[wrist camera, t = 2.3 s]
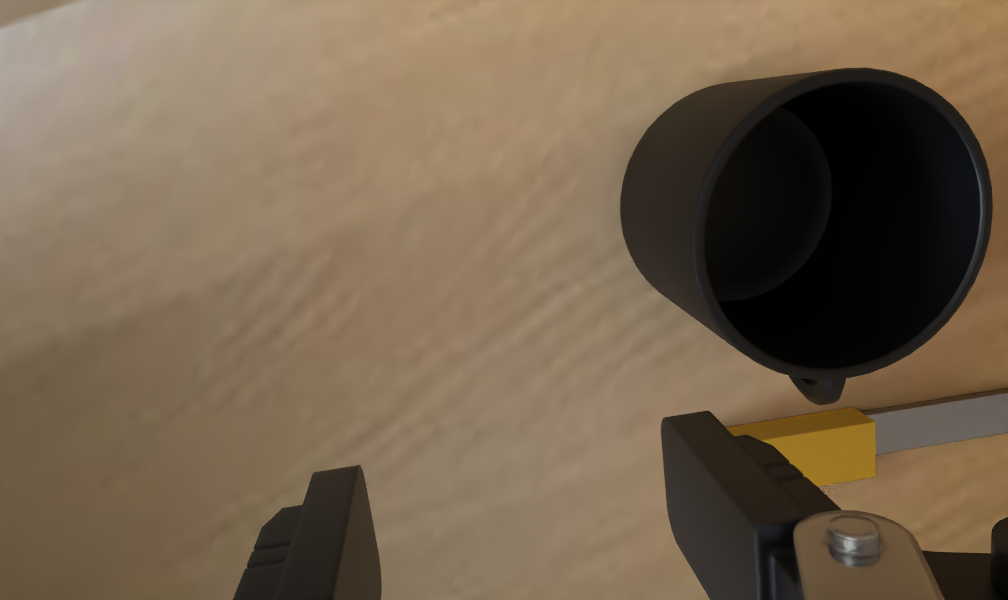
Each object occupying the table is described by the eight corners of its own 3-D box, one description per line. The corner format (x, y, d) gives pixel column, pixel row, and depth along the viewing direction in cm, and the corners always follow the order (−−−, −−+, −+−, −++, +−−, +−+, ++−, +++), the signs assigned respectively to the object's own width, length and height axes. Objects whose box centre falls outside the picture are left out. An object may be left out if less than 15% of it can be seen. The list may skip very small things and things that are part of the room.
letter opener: (694, 485, 34) (708, 505, 33) (690, 432, 34) (705, 449, 32) (1109, 417, 36) (1144, 432, 34) (1113, 364, 35) (1149, 377, 33)
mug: (658, 392, 33) (742, 490, 24) (593, 119, 30) (661, 118, 21) (863, 331, 33) (1019, 406, 25) (818, 54, 31) (977, 27, 22)
